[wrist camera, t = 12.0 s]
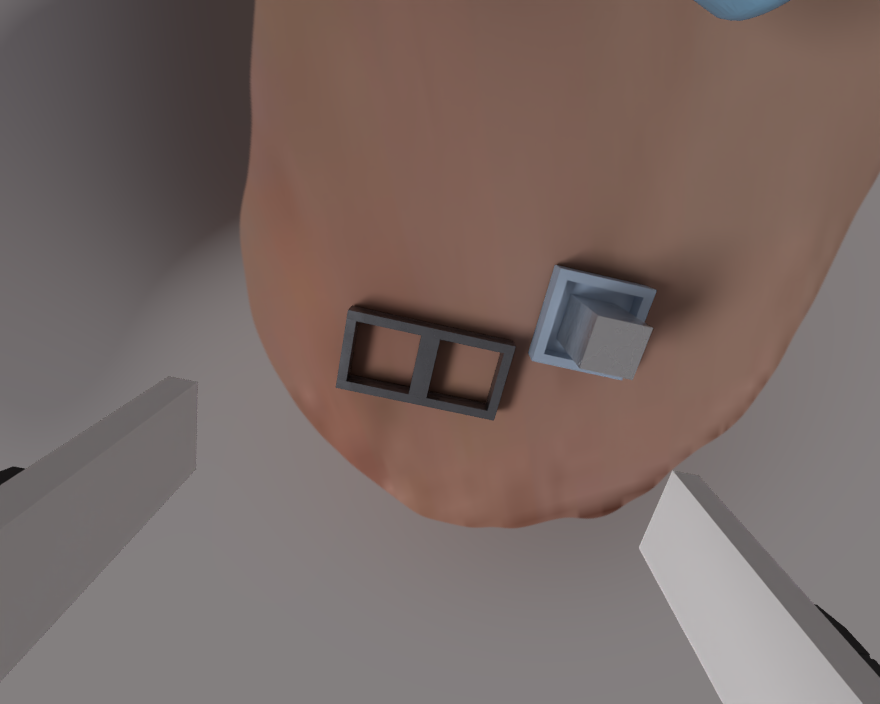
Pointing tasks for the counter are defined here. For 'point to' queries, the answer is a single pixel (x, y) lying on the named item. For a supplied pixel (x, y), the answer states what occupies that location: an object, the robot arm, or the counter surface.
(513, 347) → the rack frame
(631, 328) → the grey rectangular block
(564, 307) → the parts tray
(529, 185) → the counter surface
